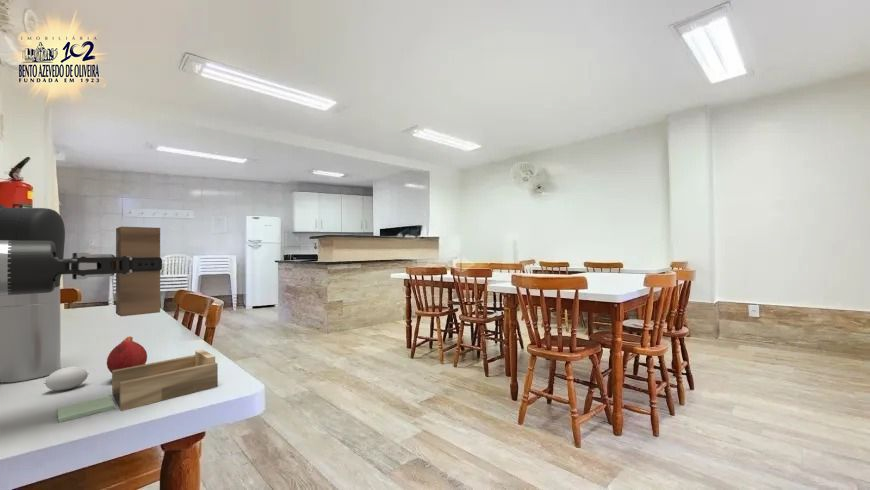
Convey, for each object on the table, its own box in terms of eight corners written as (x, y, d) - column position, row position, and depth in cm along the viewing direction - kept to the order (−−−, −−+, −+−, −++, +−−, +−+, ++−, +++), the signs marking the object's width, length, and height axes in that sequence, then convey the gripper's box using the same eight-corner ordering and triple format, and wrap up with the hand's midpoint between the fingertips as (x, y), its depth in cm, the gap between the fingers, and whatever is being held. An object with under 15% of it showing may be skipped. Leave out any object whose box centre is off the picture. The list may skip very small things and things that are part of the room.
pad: (57, 410, 56) (57, 407, 56) (109, 398, 60) (109, 395, 60) (58, 422, 52) (58, 418, 52) (114, 408, 56) (114, 405, 56)
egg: (93, 385, 67) (93, 364, 67) (47, 397, 62) (47, 374, 62) (85, 382, 69) (85, 361, 69) (39, 393, 64) (39, 370, 64)
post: (115, 313, 61) (116, 228, 61) (153, 309, 65) (153, 229, 65) (120, 316, 58) (121, 226, 58) (160, 312, 61) (160, 227, 62)
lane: (217, 386, 65) (217, 357, 65) (120, 410, 55) (120, 377, 55) (200, 374, 72) (200, 348, 72) (112, 394, 62) (111, 364, 62)
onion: (124, 385, 66) (123, 340, 66) (98, 384, 67) (98, 340, 68) (154, 374, 72) (154, 333, 72) (130, 373, 73) (130, 333, 73)
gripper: (3, 238, 46) (168, 240, 58) (7, 242, 56) (148, 243, 68) (2, 298, 46) (168, 287, 58) (6, 292, 55) (148, 284, 68)
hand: (157, 263), depth 63 cm, fingers closed on post, 5 cm apart
